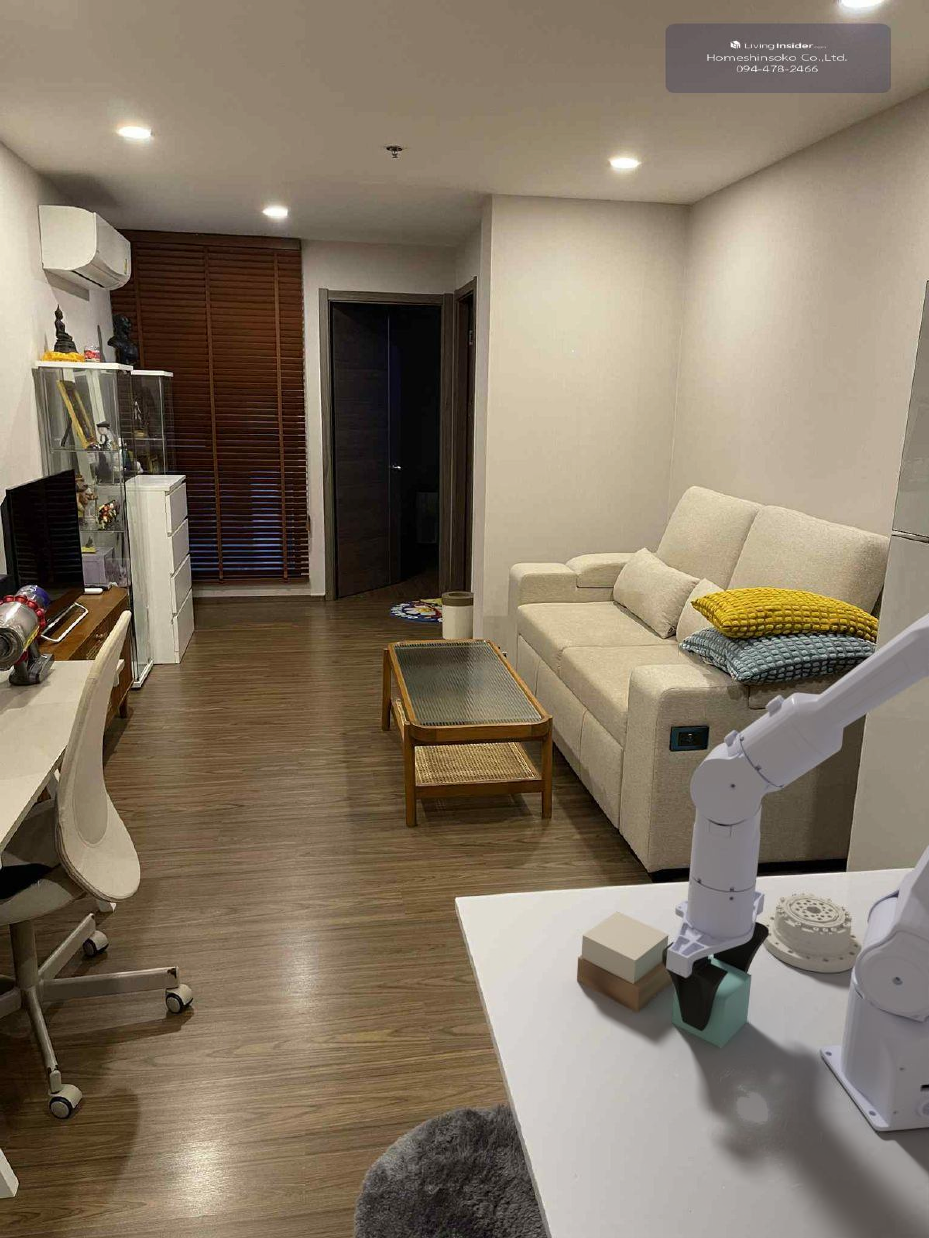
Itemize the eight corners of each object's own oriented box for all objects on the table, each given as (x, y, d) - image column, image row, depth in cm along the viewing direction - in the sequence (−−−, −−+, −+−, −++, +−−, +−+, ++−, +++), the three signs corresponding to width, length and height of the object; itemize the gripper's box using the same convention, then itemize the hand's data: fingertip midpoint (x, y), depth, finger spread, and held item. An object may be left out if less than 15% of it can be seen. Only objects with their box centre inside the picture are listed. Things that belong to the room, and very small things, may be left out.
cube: (746, 1022, 87) (751, 974, 86) (721, 1048, 83) (725, 1000, 82) (698, 998, 90) (702, 952, 89) (671, 1023, 87) (675, 975, 86)
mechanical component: (776, 974, 95) (875, 976, 94) (780, 935, 94) (881, 938, 93) (749, 920, 104) (839, 922, 104) (753, 884, 103) (844, 886, 103)
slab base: (675, 983, 93) (677, 956, 92) (636, 1016, 88) (639, 988, 87) (616, 954, 98) (617, 928, 97) (576, 984, 93) (578, 957, 92)
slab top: (666, 957, 92) (668, 934, 92) (633, 983, 88) (635, 960, 87) (615, 933, 96) (616, 911, 96) (581, 957, 92) (582, 935, 91)
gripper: (720, 834, 91) (709, 957, 94) (640, 889, 81) (630, 1025, 84) (790, 858, 86) (776, 987, 90) (714, 921, 76) (701, 1063, 79)
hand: (710, 1008), depth 87 cm, fingers open, 6 cm apart
